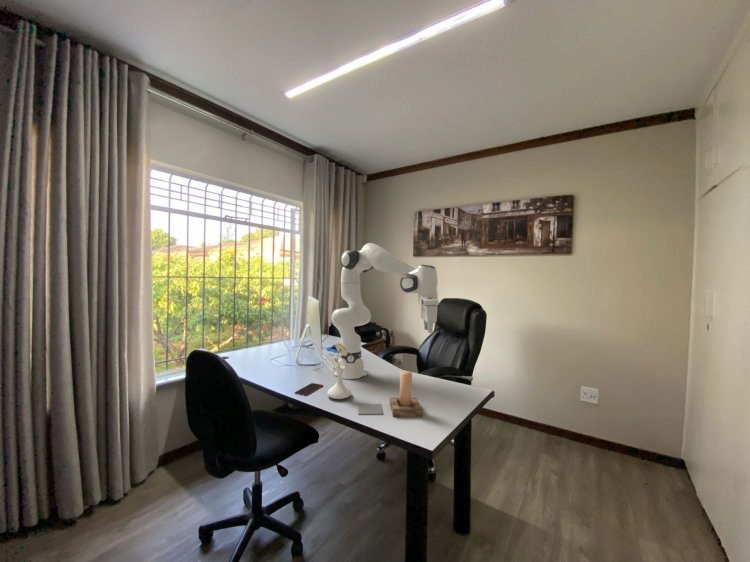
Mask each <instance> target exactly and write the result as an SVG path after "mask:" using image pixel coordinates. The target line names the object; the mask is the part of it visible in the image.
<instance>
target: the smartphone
mask: <svg viewBox="0 0 750 562" xmlns="http://www.w3.org/2000/svg"><path fill="white" fill-rule="evenodd" d="M319 388H320V389H321V388H324V384H319V383H314V382H311V383H309V384H307V385H305V386H304V387H302V388H300V389H298V390H296V391H295V392H294V395H298V394H299V396H303V395H304V396H303V397H309V394H310V395H311V394H313V393H314V392H315V393H316V392H317V391H318V390H319Z"/></svg>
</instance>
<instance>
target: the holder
mask: <svg viewBox="0 0 750 562" xmlns="http://www.w3.org/2000/svg"><path fill="white" fill-rule="evenodd" d="M399 404H400V397H389V407H391V408H390V411H391V415H392V417H393V418H402V417H404V418H405V417H406V418H408V417H411V418H413V417H414V418H415V417H419V416H420V417H423V408H422V405H421V403H420V401H419V400H418V397H411V406H408V407H399Z"/></svg>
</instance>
